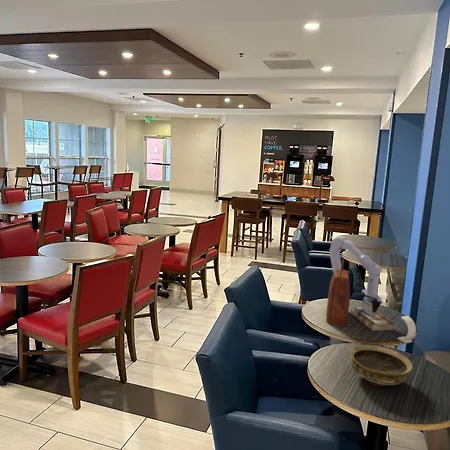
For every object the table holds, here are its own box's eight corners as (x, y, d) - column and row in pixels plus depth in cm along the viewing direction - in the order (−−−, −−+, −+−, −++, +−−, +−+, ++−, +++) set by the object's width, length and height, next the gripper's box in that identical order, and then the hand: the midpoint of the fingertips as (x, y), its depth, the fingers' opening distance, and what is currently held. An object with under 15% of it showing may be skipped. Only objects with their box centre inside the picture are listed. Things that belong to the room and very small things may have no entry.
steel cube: (357, 316, 234) (353, 313, 237) (363, 315, 235) (359, 313, 238) (358, 309, 233) (354, 306, 237) (364, 309, 234) (360, 306, 238)
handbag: (326, 324, 220) (333, 262, 214) (326, 311, 239) (333, 253, 232) (346, 327, 218) (354, 265, 211) (344, 314, 237) (352, 256, 230)
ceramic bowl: (418, 407, 149) (422, 382, 147) (351, 396, 153) (354, 371, 151) (399, 367, 178) (402, 345, 176) (343, 358, 182) (345, 337, 180)
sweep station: (350, 312, 239) (351, 306, 238) (368, 312, 242) (369, 306, 241) (372, 330, 216) (373, 322, 215) (392, 330, 218) (393, 322, 218)
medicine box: (361, 311, 234) (363, 296, 232) (367, 310, 235) (369, 296, 233) (369, 316, 226) (371, 301, 225) (376, 316, 227) (378, 301, 226)
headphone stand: (404, 337, 209) (407, 315, 207) (413, 343, 204) (417, 320, 202) (397, 339, 207) (401, 316, 205) (407, 344, 202) (411, 321, 200)
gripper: (358, 282, 233) (355, 304, 236) (375, 290, 220) (371, 314, 222) (368, 282, 236) (365, 304, 238) (385, 290, 222) (382, 313, 224)
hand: (369, 309), depth 230 cm, fingers closed on medicine box, 7 cm apart
